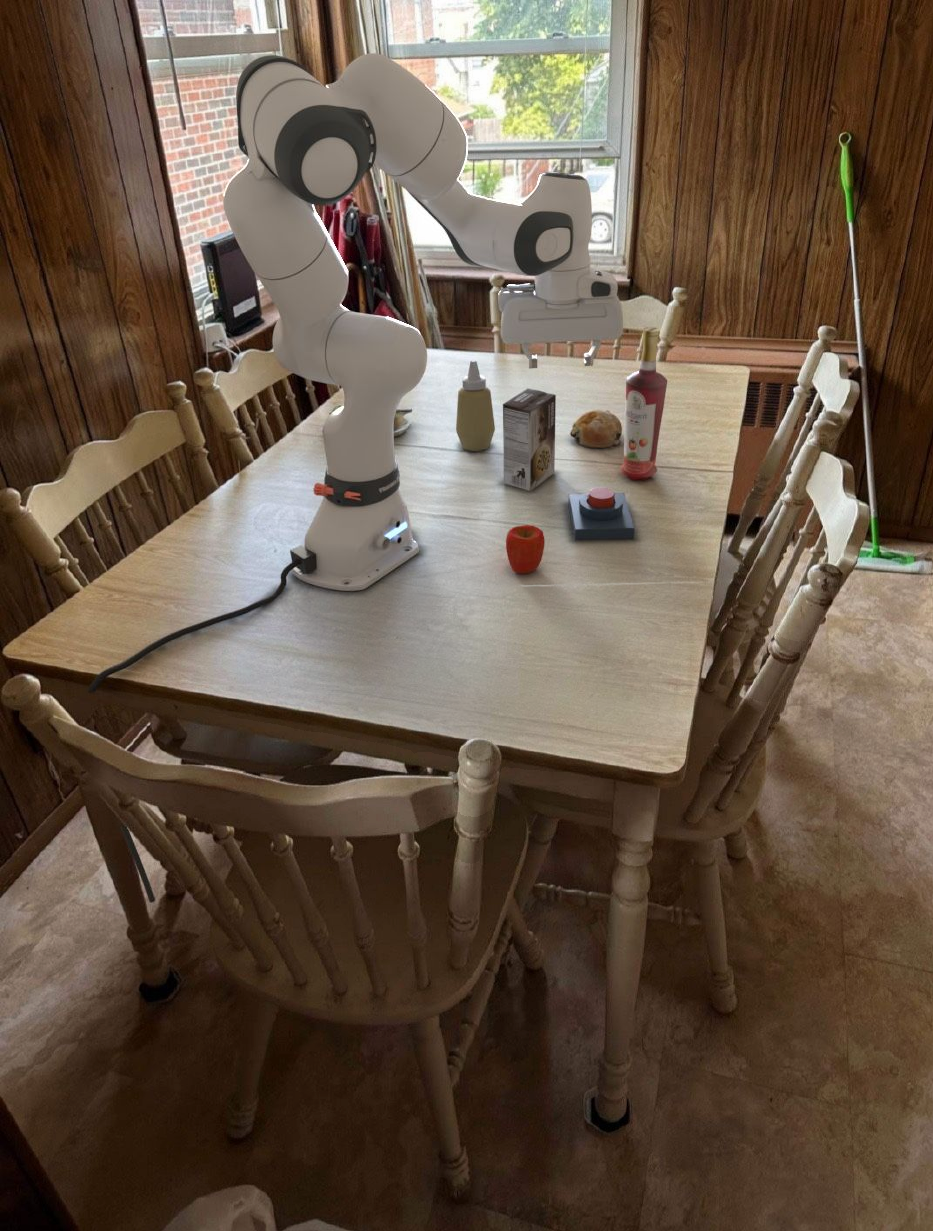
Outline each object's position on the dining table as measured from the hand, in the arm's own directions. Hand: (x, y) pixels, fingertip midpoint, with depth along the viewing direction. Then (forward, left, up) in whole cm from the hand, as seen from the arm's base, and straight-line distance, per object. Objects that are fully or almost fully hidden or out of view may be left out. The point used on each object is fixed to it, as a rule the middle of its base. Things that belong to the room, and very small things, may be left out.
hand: (560, 366), depth 150 cm
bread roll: (+26, +1, -25) cm, 36 cm away
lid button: (-7, -11, -21) cm, 24 cm away
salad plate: (+13, +49, -25) cm, 57 cm away
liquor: (+13, -12, -25) cm, 30 cm away
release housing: (-7, -11, -25) cm, 27 cm away
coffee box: (+4, +7, -25) cm, 26 cm away
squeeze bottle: (+14, +23, -25) cm, 37 cm away
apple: (-27, -5, -25) cm, 37 cm away
